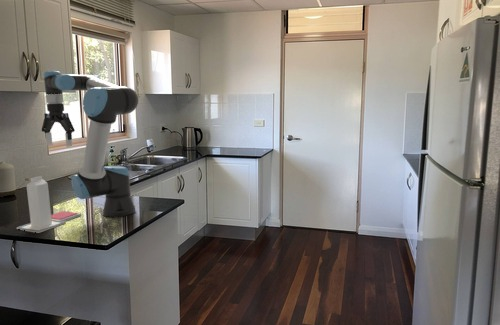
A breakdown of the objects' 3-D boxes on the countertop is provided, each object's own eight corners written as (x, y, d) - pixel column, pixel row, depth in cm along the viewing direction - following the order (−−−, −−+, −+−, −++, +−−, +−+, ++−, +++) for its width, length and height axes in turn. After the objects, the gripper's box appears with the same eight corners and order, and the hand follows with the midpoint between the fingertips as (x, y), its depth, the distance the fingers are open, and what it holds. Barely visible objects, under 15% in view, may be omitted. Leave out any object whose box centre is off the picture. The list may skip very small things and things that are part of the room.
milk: (31, 226, 181) (24, 177, 177) (42, 222, 186) (36, 175, 183) (41, 227, 179) (35, 178, 175) (52, 223, 184) (46, 175, 181)
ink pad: (81, 215, 197) (80, 212, 197) (60, 223, 187) (59, 219, 186) (63, 213, 202) (63, 210, 202) (42, 220, 192) (41, 217, 191)
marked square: (65, 223, 186) (65, 221, 186) (38, 233, 173) (38, 231, 173) (44, 220, 192) (44, 218, 192) (16, 229, 179) (16, 227, 179)
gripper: (79, 102, 200) (83, 145, 204) (43, 103, 210) (48, 144, 214) (67, 103, 193) (71, 147, 197) (30, 103, 204) (35, 146, 207)
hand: (59, 146), depth 205 cm, fingers open, 13 cm apart
